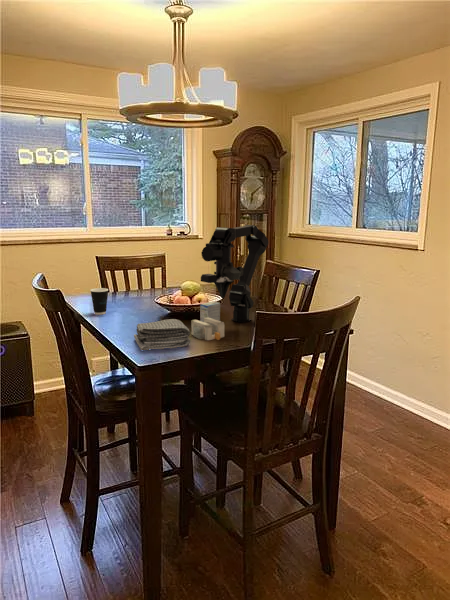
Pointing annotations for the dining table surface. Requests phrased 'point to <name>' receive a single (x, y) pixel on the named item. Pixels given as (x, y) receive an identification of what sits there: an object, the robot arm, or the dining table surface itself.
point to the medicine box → (210, 311)
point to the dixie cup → (99, 300)
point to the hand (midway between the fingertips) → (222, 297)
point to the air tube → (200, 331)
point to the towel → (162, 334)
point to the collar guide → (209, 328)
